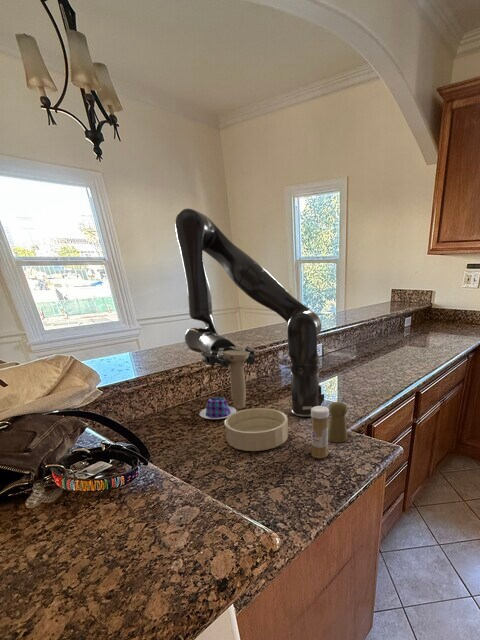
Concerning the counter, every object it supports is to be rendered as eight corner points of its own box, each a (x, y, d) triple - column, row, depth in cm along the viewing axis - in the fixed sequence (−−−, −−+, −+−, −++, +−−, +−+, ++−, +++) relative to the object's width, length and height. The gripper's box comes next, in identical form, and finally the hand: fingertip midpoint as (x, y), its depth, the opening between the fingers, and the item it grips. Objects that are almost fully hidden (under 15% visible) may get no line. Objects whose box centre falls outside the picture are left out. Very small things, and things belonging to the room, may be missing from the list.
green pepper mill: (349, 435, 106) (351, 400, 101) (344, 443, 101) (345, 408, 96) (330, 432, 108) (331, 398, 103) (324, 440, 102) (324, 405, 98)
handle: (246, 411, 94) (243, 355, 88) (224, 408, 96) (219, 353, 89) (254, 405, 99) (251, 351, 92) (233, 402, 100) (229, 349, 93)
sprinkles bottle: (307, 455, 94) (307, 408, 89) (318, 449, 98) (319, 404, 92) (320, 461, 92) (320, 413, 86) (331, 454, 95) (332, 408, 89)
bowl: (272, 421, 114) (271, 404, 112) (298, 442, 101) (298, 423, 98) (218, 434, 105) (216, 415, 103) (240, 459, 92) (238, 438, 90)
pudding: (241, 408, 124) (239, 394, 122) (229, 422, 113) (227, 407, 111) (208, 406, 125) (206, 392, 123) (193, 420, 114) (191, 405, 112)
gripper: (191, 338, 97) (209, 350, 85) (241, 333, 104) (264, 344, 92) (195, 364, 101) (213, 380, 88) (243, 358, 108) (266, 372, 95)
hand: (239, 362), depth 90 cm, fingers closed on handle, 6 cm apart
